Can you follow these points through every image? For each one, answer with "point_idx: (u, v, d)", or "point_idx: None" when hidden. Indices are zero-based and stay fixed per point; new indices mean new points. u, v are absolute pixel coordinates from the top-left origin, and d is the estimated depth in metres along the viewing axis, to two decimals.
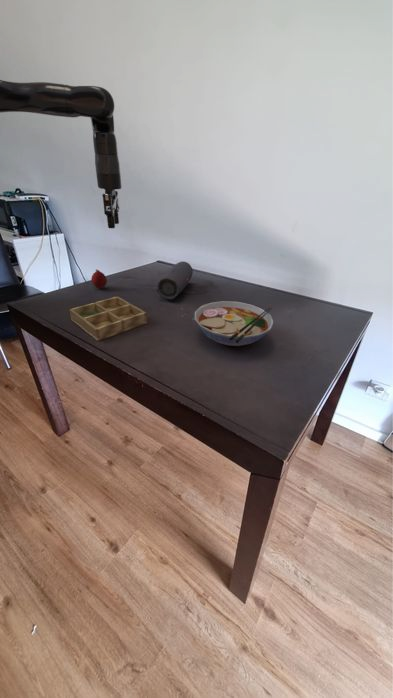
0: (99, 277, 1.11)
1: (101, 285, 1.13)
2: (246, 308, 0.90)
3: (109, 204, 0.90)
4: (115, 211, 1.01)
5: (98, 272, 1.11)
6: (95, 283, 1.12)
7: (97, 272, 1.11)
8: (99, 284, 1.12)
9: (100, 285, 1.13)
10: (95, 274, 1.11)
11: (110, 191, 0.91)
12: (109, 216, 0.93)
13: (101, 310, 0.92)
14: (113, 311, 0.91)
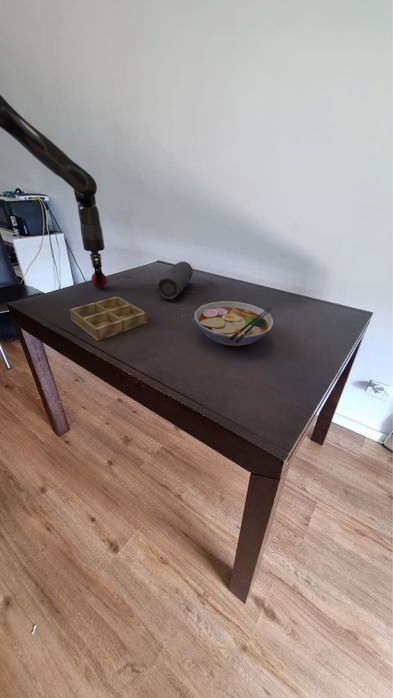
0: None
1: (101, 285, 1.13)
2: (246, 308, 0.90)
3: (99, 266, 1.05)
4: (97, 267, 1.14)
5: None
6: (95, 283, 1.12)
7: None
8: (99, 284, 1.12)
9: (100, 285, 1.13)
10: (95, 274, 1.11)
11: (97, 253, 1.05)
12: (98, 274, 1.08)
13: (101, 310, 0.92)
14: (113, 311, 0.91)
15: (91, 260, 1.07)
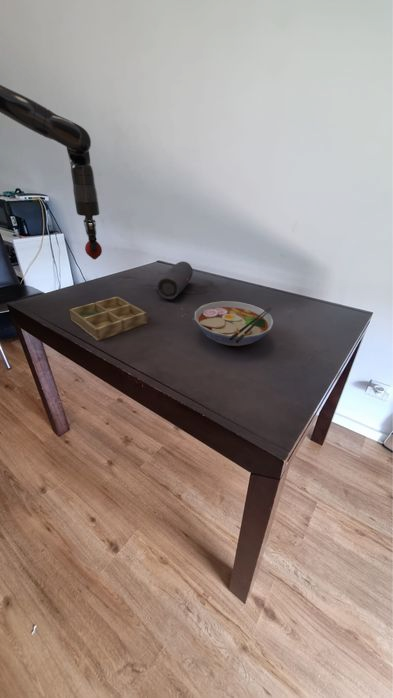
0: None
1: (96, 255, 1.05)
2: (246, 308, 0.90)
3: (93, 232, 0.98)
4: (92, 236, 1.07)
5: None
6: (89, 252, 1.04)
7: None
8: (93, 253, 1.05)
9: (94, 255, 1.05)
10: (89, 242, 1.04)
11: (91, 218, 0.97)
12: (92, 242, 1.01)
13: (101, 310, 0.92)
14: (113, 311, 0.91)
15: (85, 226, 1.00)
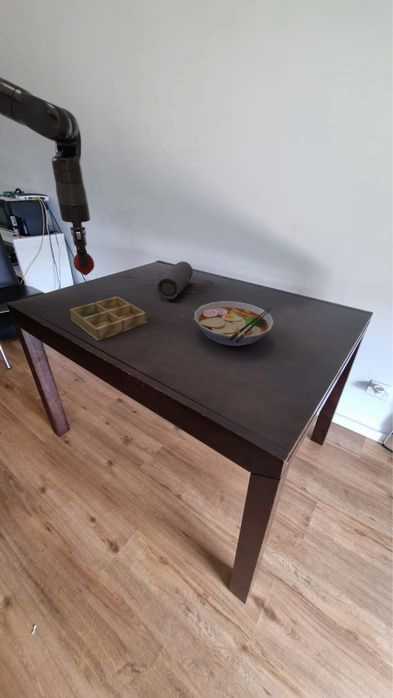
0: None
1: (86, 270, 0.85)
2: (246, 308, 0.90)
3: (82, 243, 0.77)
4: (82, 247, 0.86)
5: None
6: (78, 267, 0.84)
7: None
8: (84, 268, 0.84)
9: (85, 270, 0.85)
10: None
11: (80, 225, 0.77)
12: (81, 255, 0.81)
13: (101, 310, 0.92)
14: (113, 311, 0.91)
15: (72, 235, 0.80)
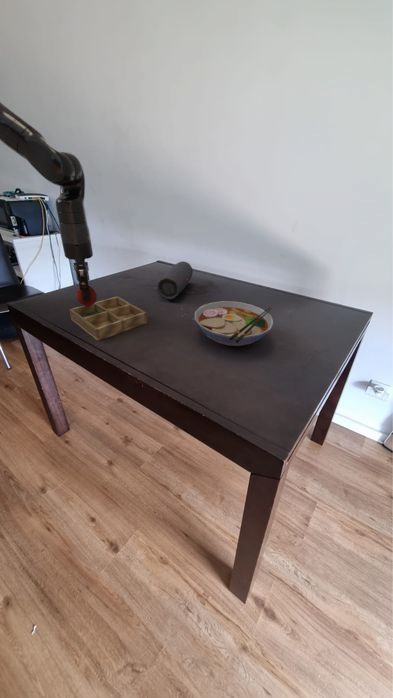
0: None
1: (89, 303, 0.86)
2: (246, 308, 0.90)
3: (85, 280, 0.79)
4: None
5: None
6: (81, 300, 0.85)
7: None
8: (86, 302, 0.86)
9: (88, 303, 0.86)
10: None
11: (82, 262, 0.79)
12: (84, 290, 0.82)
13: (101, 310, 0.92)
14: (113, 311, 0.91)
15: (75, 271, 0.81)
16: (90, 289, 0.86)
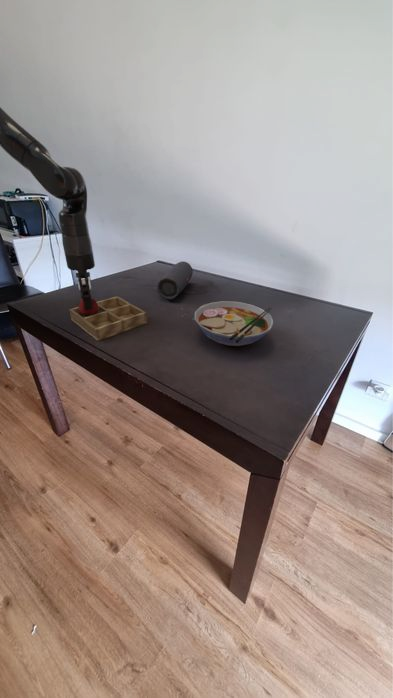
0: None
1: (91, 314, 0.89)
2: (246, 308, 0.90)
3: (87, 288, 0.79)
4: None
5: None
6: (83, 312, 0.87)
7: None
8: (88, 313, 0.88)
9: (90, 314, 0.88)
10: None
11: (85, 273, 0.80)
12: (86, 299, 0.82)
13: (101, 310, 0.92)
14: (113, 311, 0.91)
15: (77, 281, 0.82)
16: (92, 301, 0.88)
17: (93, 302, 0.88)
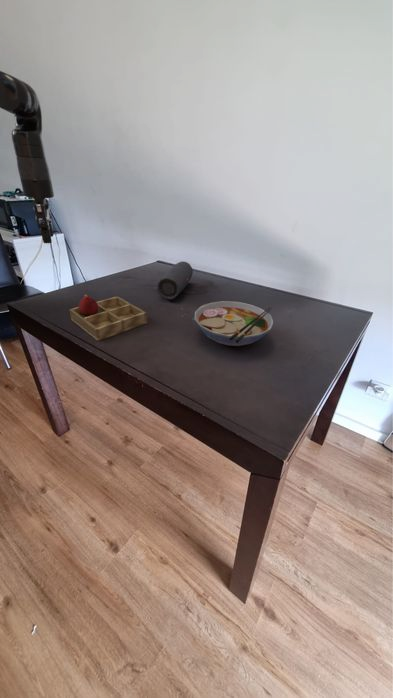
0: (89, 305, 0.87)
1: (91, 314, 0.89)
2: (246, 308, 0.90)
3: (43, 216, 0.77)
4: None
5: (87, 298, 0.87)
6: (83, 312, 0.87)
7: (86, 298, 0.87)
8: (88, 313, 0.88)
9: (90, 314, 0.88)
10: (83, 301, 0.87)
11: (42, 200, 0.77)
12: (44, 230, 0.80)
13: (101, 310, 0.92)
14: (113, 311, 0.91)
15: (35, 211, 0.80)
16: (92, 301, 0.88)
17: (93, 302, 0.88)
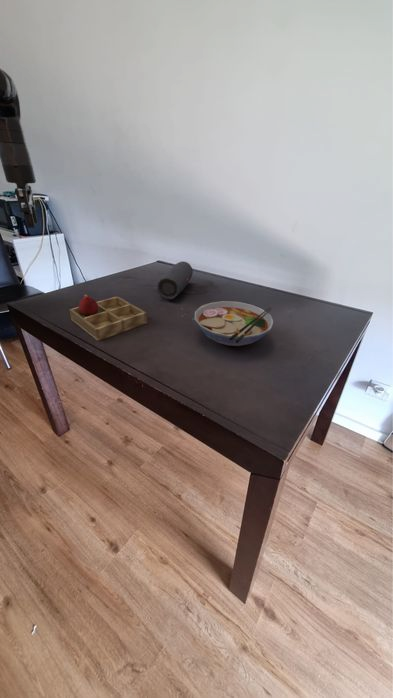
0: (89, 305, 0.87)
1: (91, 314, 0.89)
2: (246, 308, 0.90)
3: (25, 200, 0.79)
4: (31, 208, 0.89)
5: (87, 298, 0.87)
6: (83, 312, 0.87)
7: (86, 298, 0.87)
8: (88, 313, 0.88)
9: (90, 314, 0.88)
10: (83, 301, 0.87)
11: (23, 185, 0.80)
12: (26, 214, 0.82)
13: (101, 310, 0.92)
14: (113, 311, 0.91)
15: None
16: (92, 301, 0.88)
17: (93, 302, 0.88)
